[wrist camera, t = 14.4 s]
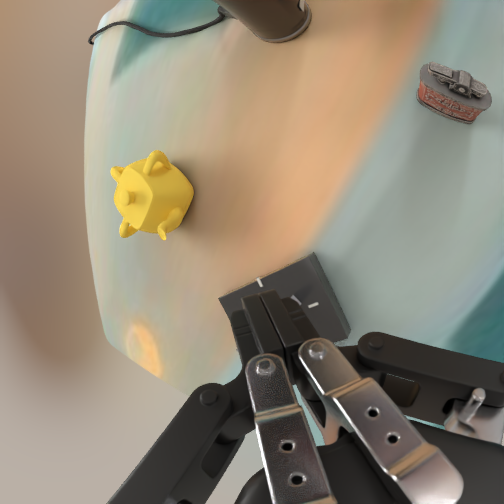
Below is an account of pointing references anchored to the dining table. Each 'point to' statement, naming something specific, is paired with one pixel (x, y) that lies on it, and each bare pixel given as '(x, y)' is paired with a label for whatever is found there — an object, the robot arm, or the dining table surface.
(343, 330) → the hob panel
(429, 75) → the lighter
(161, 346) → the dining table surface
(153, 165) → the teapot
